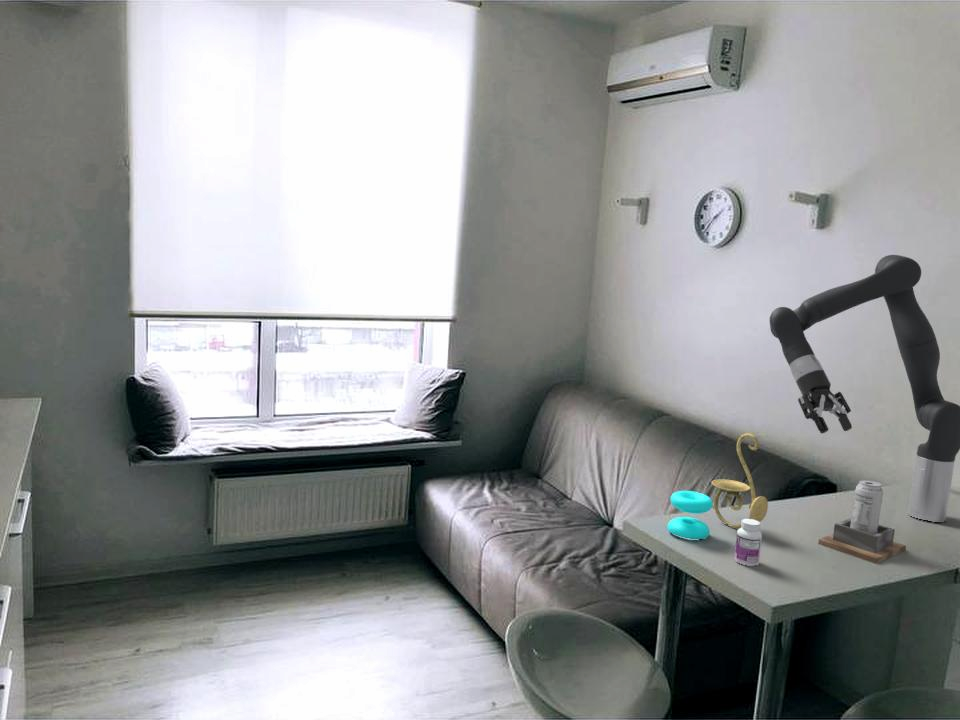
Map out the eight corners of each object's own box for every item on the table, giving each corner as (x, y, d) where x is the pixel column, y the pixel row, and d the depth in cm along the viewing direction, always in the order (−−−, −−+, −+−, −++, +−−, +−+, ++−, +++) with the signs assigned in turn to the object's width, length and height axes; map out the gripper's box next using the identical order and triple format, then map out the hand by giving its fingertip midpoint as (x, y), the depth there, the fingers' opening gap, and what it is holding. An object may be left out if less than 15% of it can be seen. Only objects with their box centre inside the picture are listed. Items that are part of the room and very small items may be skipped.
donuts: (722, 499, 193) (691, 504, 188) (717, 539, 194) (687, 544, 189) (692, 487, 202) (662, 491, 197) (688, 525, 203) (658, 530, 198)
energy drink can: (881, 546, 194) (890, 486, 191) (861, 547, 192) (869, 487, 190) (862, 536, 199) (871, 478, 197) (843, 537, 197) (851, 479, 195)
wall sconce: (768, 533, 201) (780, 436, 197) (744, 539, 195) (756, 440, 192) (722, 516, 212) (733, 424, 208) (699, 521, 206) (709, 427, 203)
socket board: (849, 532, 206) (851, 512, 205) (905, 550, 195) (908, 529, 195) (818, 543, 196) (820, 523, 195) (876, 563, 185) (879, 542, 184)
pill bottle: (736, 555, 184) (741, 515, 183) (760, 561, 182) (765, 520, 180) (731, 563, 180) (736, 521, 178) (755, 569, 177) (760, 527, 176)
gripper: (799, 369, 205) (827, 426, 198) (838, 367, 211) (866, 422, 204) (780, 383, 211) (806, 439, 204) (818, 381, 217) (845, 435, 210)
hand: (836, 430), depth 204 cm, fingers open, 8 cm apart
